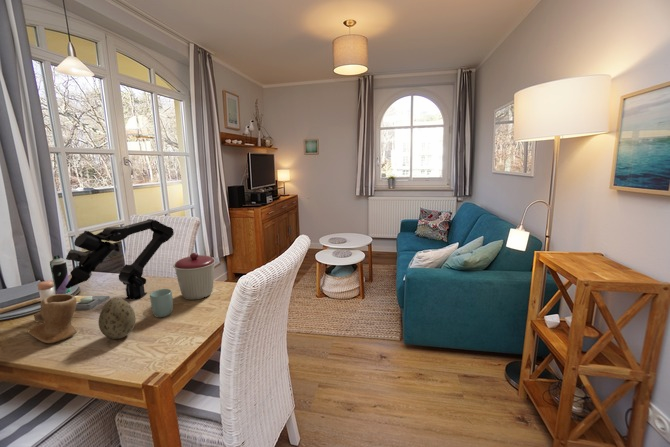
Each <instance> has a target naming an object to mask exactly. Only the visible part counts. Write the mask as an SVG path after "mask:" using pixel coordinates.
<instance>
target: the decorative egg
mask: <svg viewBox="0 0 670 447" xmlns="http://www.w3.org/2000/svg"><path fill="white" fill-rule="evenodd" d="M136 319H137V318H136V313H135V310H134V308H133V307H132V306H131V304H130V303H129V302H127V300H126V299H123V298H120V297H113V298H110V299H109V300H108V301H107V302H106V303H105V304H104V306H103V307H102V308H101V310H100V312H99V316H98V328H99V331H100V332H101V334H102V335H104V337H106V338H108V339H111V340H112V339H113V340H119V339H122V338H124V337H126V336H127V335H129V334H130V333H131V332H132V330H133V329H134V327H135V325H136Z"/></svg>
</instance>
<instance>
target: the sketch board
mask: <svg viewBox="0 0 670 447" xmlns="http://www.w3.org/2000/svg"><path fill="white" fill-rule="evenodd" d="M74 296H75V298H76V302H77V303H76V309H75V311H76V310H77V311H83V310H84V311H88V310H89V311H90V310H91V309H93V308H95V307H96V306H98V305H99V304H102V302H105V301H106V300H108V299H109V298H110V296H109V295H90V296H91V297H92V300H93V301H92V302H90V303H86V304H81V301H80V299H81V298H83V297H88V296H89V295H74Z"/></svg>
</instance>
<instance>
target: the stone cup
mask: <svg viewBox="0 0 670 447" xmlns="http://www.w3.org/2000/svg"><path fill="white" fill-rule="evenodd" d="M75 296H76V295H73V294H72V295H70V294H56V293H55V295H50V296H47V297H45V298H44V299H43V300H42V301H41V300H40V311H41V316H42V318H43V320H44V322H41V323H40V324H37V325H35V326H34V327H31V328H30V329H29V330H28V334H30V336H32V337H33V338H35V339H37V340H38V341H41V342H42V343H45V344H51V343H52V344H53V343H57V342H60V341H63V340H66V339H67V338H70V337H72V336H74V335H75V334H76V333H77V329H76V328H75V326H73V325H72V320H73V317H74V314H75V311H76V310H75V309H76V303H77V302H76V298H75Z"/></svg>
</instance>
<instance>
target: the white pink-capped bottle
mask: <svg viewBox="0 0 670 447" xmlns="http://www.w3.org/2000/svg"><path fill="white" fill-rule="evenodd" d="M36 286H37V290H38V293H39V294H38V295H39V298H40V302H41V301H42V300H43V299H44V298H45V297H47V296H50V295H55V294H56V293H55V288H54V283H53V280H44V281H41V282H38V283H37V284H36Z"/></svg>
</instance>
